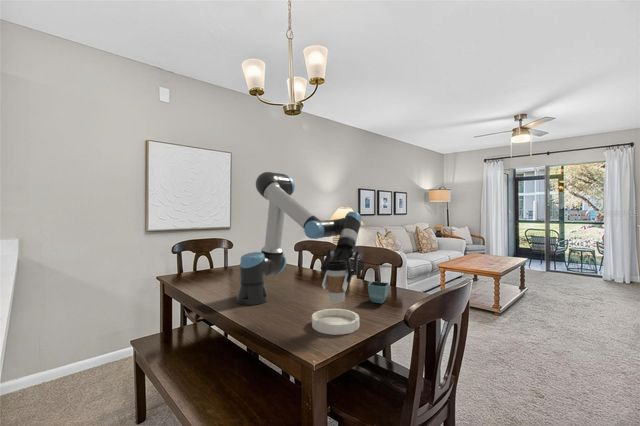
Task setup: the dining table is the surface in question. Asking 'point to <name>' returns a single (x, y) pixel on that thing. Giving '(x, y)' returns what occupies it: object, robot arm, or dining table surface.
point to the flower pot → (378, 291)
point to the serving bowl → (335, 321)
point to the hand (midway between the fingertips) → (333, 288)
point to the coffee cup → (336, 280)
